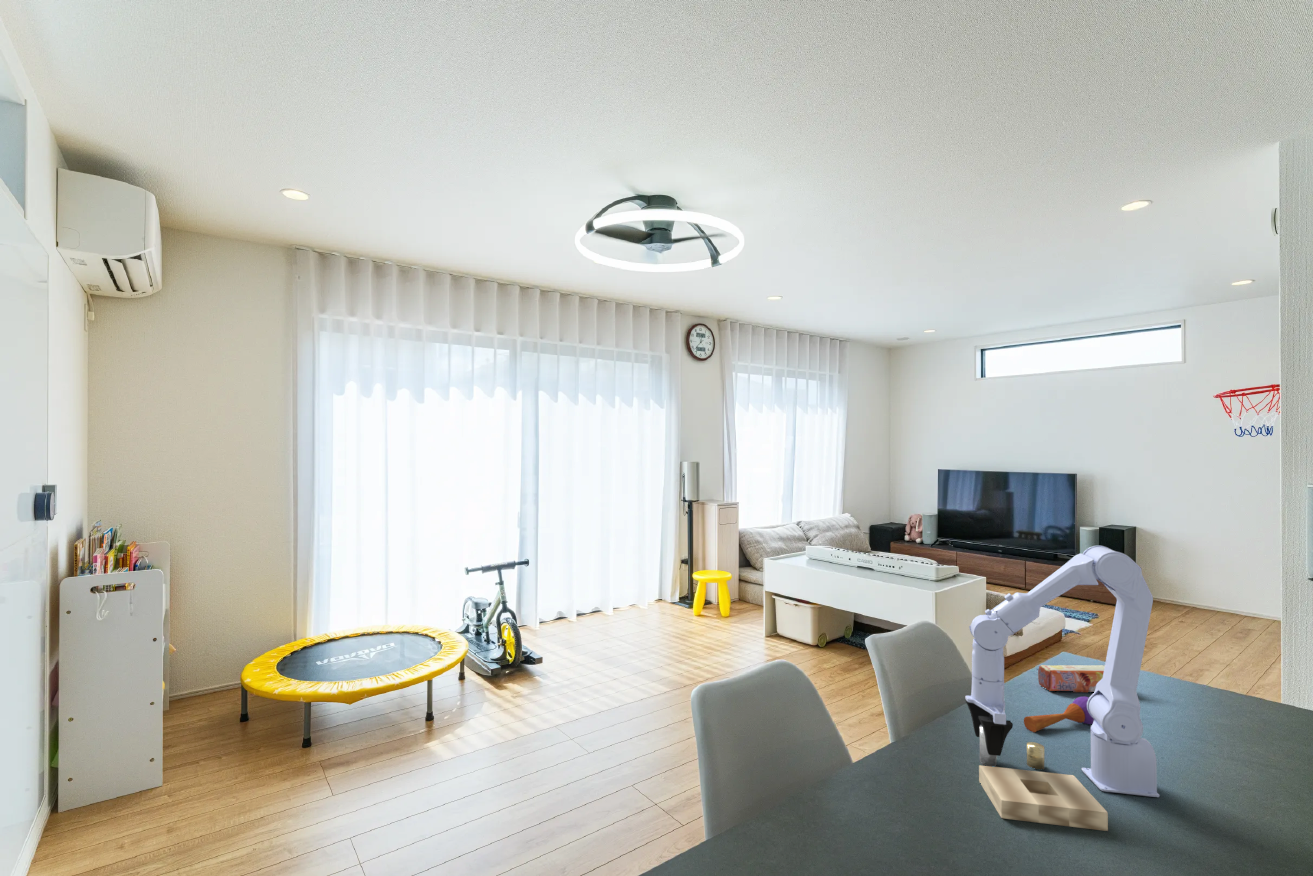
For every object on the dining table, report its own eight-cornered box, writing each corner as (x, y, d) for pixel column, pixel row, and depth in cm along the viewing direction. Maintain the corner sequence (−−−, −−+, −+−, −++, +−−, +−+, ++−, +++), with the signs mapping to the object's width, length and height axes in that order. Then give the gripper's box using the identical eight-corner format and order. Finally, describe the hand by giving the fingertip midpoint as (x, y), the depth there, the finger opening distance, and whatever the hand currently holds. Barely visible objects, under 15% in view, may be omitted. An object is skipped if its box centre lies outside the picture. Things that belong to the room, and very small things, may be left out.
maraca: (1016, 707, 140) (1081, 692, 146) (1022, 735, 139) (1087, 718, 145) (1038, 713, 135) (1105, 697, 140) (1044, 742, 134) (1112, 724, 139)
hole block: (1073, 791, 112) (1073, 775, 112) (1107, 831, 100) (1107, 812, 100) (979, 781, 115) (979, 765, 115) (1001, 818, 103) (1001, 800, 103)
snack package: (1050, 694, 159) (1050, 668, 159) (1035, 685, 166) (1035, 660, 166) (1134, 697, 158) (1134, 670, 158) (1116, 687, 165) (1116, 662, 165)
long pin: (993, 760, 123) (993, 725, 123) (998, 767, 120) (998, 731, 121) (977, 758, 124) (977, 723, 124) (982, 765, 121) (982, 730, 121)
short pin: (1040, 763, 122) (1040, 742, 123) (1047, 770, 120) (1047, 749, 120) (1024, 761, 123) (1024, 741, 123) (1030, 768, 120) (1030, 748, 120)
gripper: (956, 663, 131) (955, 727, 130) (977, 688, 116) (977, 760, 116) (992, 666, 129) (991, 731, 129) (1018, 692, 115) (1018, 765, 115)
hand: (987, 745), depth 122 cm, fingers open, 7 cm apart
